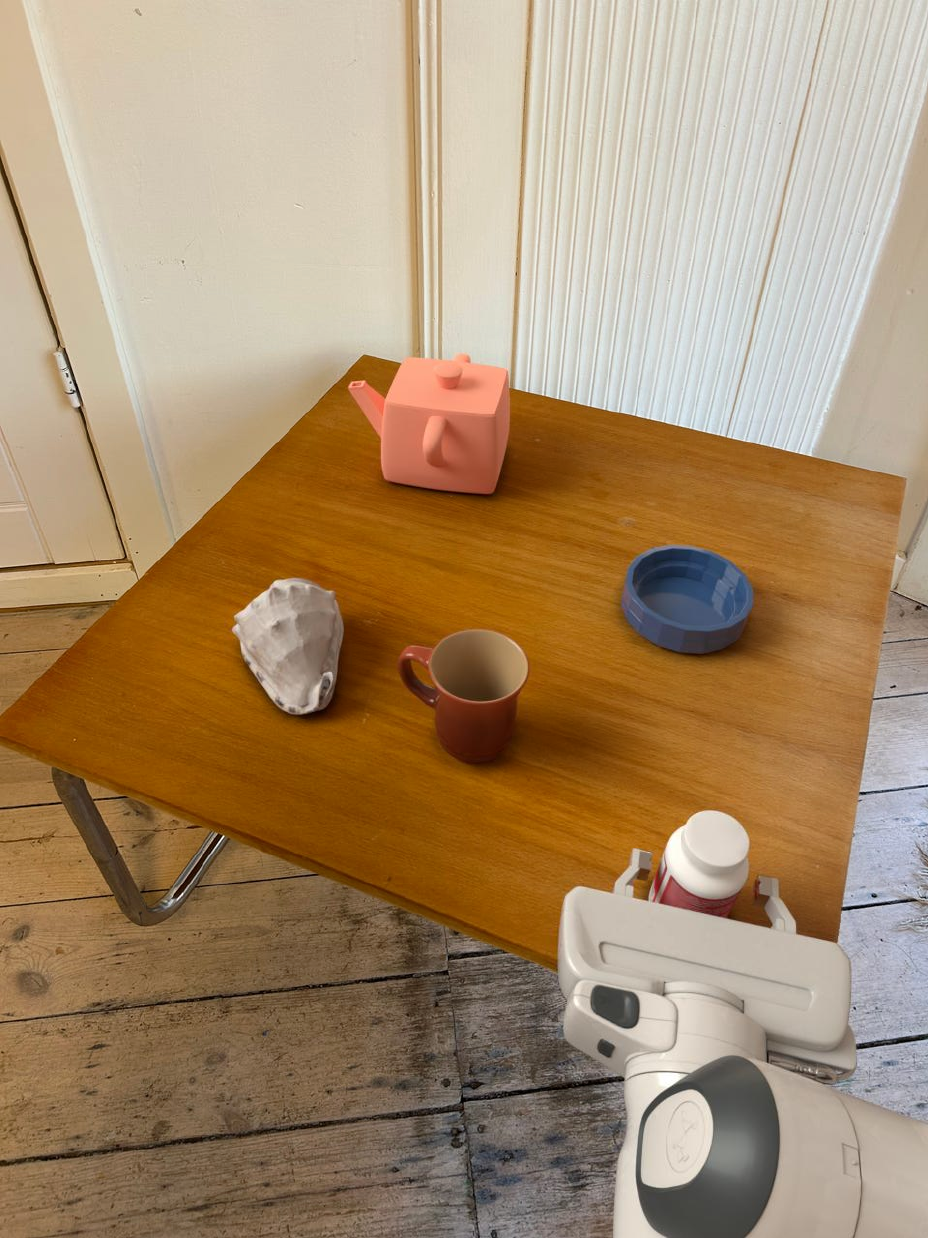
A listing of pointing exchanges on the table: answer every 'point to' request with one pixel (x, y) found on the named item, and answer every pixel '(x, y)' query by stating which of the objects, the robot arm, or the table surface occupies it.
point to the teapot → (441, 423)
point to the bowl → (686, 598)
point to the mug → (470, 690)
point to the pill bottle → (703, 865)
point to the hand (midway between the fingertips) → (702, 866)
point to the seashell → (293, 643)
